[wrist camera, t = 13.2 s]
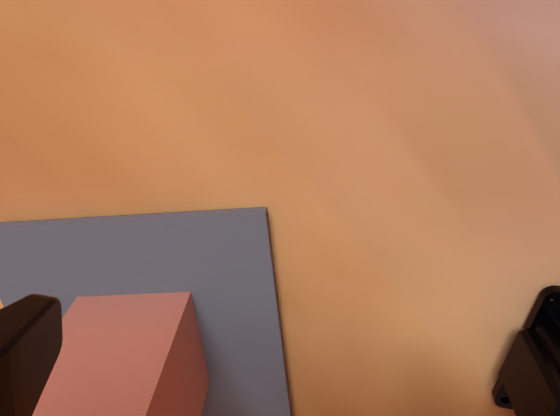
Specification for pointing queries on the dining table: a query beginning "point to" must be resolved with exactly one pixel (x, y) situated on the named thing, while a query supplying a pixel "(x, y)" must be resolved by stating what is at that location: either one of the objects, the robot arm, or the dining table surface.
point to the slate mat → (170, 286)
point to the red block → (128, 358)
